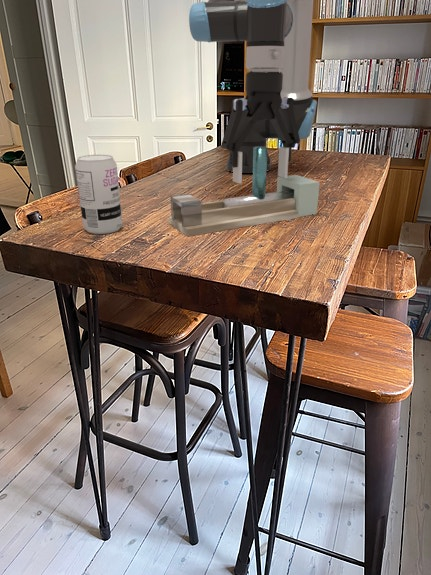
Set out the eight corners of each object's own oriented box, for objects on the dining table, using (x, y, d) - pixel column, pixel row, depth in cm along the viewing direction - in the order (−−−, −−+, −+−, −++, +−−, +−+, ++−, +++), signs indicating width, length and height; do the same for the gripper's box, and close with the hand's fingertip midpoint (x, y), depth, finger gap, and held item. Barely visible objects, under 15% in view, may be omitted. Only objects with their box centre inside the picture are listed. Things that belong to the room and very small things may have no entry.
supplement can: (87, 223, 100) (78, 154, 93) (124, 222, 101) (118, 153, 94) (80, 235, 93) (69, 161, 86) (121, 234, 93) (113, 160, 87)
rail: (169, 223, 100) (167, 194, 97) (273, 207, 111) (275, 181, 108) (187, 236, 92) (186, 205, 89) (297, 217, 103) (300, 189, 100)
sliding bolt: (222, 212, 101) (222, 149, 95) (294, 201, 109) (299, 142, 103) (229, 216, 98) (229, 151, 92) (303, 204, 106) (308, 144, 101)
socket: (275, 207, 111) (277, 177, 108) (294, 204, 113) (296, 174, 110) (297, 217, 104) (300, 184, 100) (316, 213, 106) (319, 182, 103)
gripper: (221, 71, 83) (221, 188, 93) (322, 70, 93) (313, 177, 102) (203, 71, 89) (205, 181, 99) (300, 70, 99) (293, 171, 108)
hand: (260, 179), depth 100 cm, fingers open, 11 cm apart
